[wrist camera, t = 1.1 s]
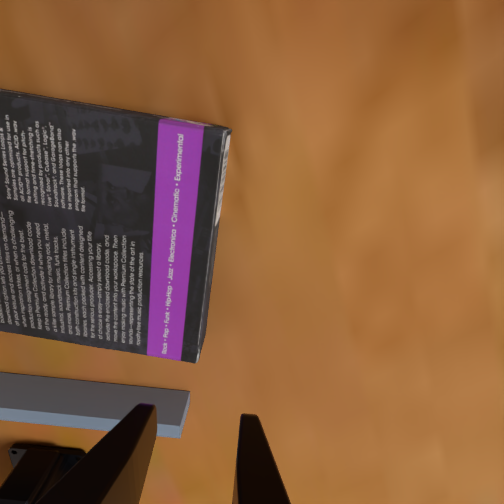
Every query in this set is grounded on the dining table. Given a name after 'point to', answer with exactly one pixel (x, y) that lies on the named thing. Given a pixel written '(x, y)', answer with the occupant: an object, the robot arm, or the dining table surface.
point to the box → (108, 224)
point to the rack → (87, 403)
